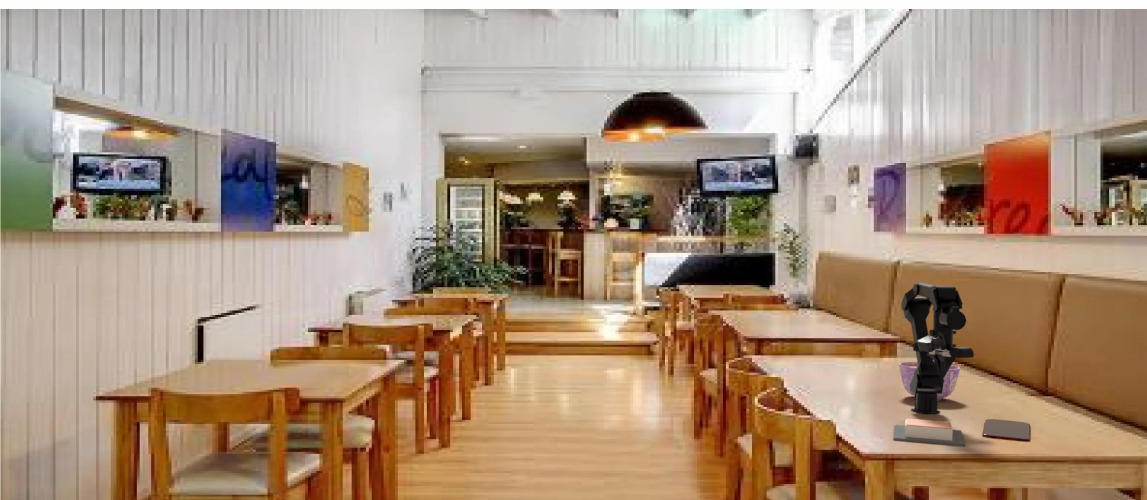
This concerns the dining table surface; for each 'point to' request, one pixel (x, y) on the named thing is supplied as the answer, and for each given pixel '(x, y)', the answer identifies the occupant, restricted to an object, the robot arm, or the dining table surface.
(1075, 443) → the dining table surface
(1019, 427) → the smartphone
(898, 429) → the charcoal mat
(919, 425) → the cream and orange slab
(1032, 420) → the dining table surface
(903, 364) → the lavender translucent bowl
